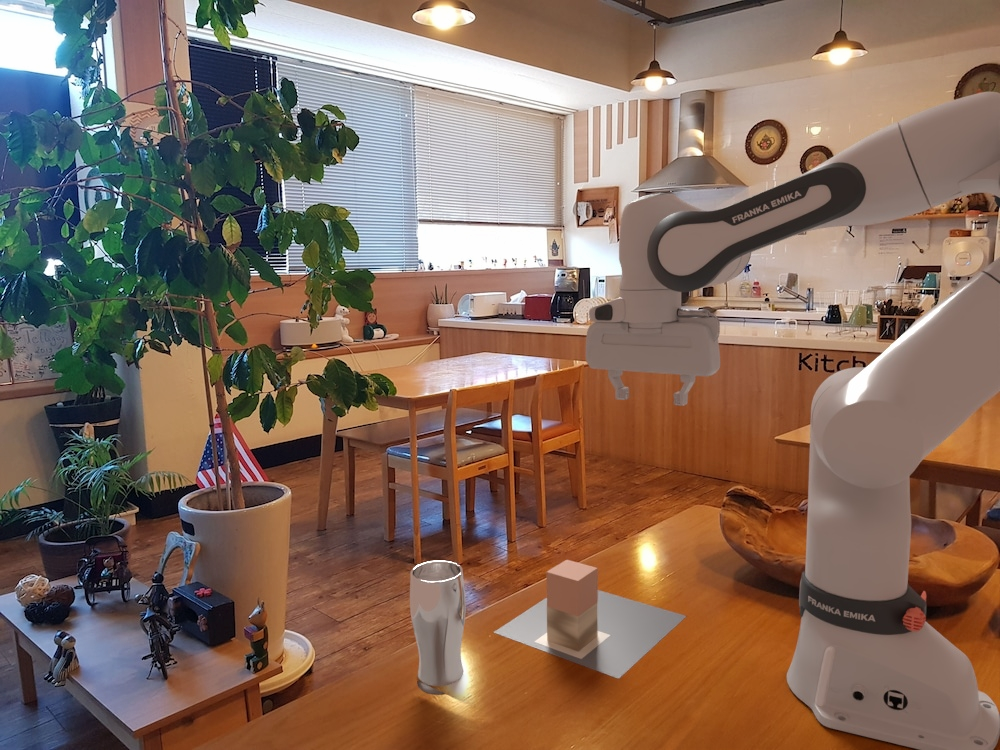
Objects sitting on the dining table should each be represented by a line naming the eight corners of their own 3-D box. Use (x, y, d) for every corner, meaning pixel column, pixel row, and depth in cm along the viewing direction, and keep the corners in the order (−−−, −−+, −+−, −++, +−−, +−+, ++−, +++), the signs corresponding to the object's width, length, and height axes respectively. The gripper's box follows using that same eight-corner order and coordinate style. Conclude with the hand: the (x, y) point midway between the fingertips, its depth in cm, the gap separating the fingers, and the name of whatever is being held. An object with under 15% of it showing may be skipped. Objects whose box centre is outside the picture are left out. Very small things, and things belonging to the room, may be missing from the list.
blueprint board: (686, 623, 109) (686, 615, 109) (618, 687, 93) (618, 678, 93) (570, 588, 121) (570, 581, 121) (493, 640, 106) (493, 632, 105)
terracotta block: (597, 602, 103) (597, 568, 102) (578, 616, 99) (577, 580, 98) (567, 593, 106) (566, 559, 105) (547, 606, 102) (546, 571, 101)
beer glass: (402, 689, 94) (397, 576, 92) (432, 662, 100) (428, 556, 98) (450, 703, 91) (445, 586, 89) (478, 674, 97) (474, 565, 95)
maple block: (597, 636, 103) (597, 602, 103) (578, 651, 100) (577, 616, 99) (567, 625, 107) (566, 593, 106) (547, 640, 103) (546, 606, 102)
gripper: (728, 307, 105) (726, 404, 107) (600, 306, 117) (601, 392, 120) (711, 311, 100) (710, 412, 102) (579, 309, 112) (581, 399, 115)
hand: (650, 401), depth 111 cm, fingers open, 8 cm apart
